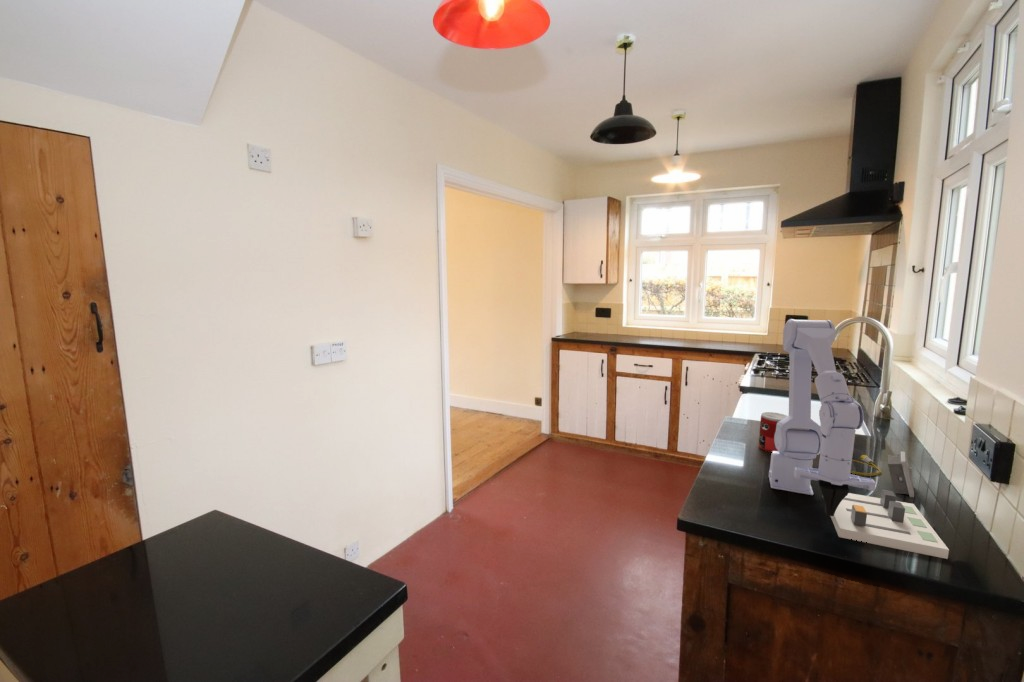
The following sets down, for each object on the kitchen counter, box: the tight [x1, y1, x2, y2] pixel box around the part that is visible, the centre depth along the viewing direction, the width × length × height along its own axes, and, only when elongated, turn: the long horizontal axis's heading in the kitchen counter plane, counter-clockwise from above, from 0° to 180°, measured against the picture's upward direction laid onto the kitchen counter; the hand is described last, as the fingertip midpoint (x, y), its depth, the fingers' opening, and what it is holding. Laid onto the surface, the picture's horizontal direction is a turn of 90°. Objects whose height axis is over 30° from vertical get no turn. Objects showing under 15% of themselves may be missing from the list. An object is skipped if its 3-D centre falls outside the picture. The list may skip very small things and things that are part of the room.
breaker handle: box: [851, 505, 867, 527], centre depth 101 cm, size 2×3×3 cm, turn 155°
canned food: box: [758, 411, 788, 453], centre depth 148 cm, size 8×8×11 cm
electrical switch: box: [887, 451, 915, 498], centre depth 122 cm, size 9×5×9 cm, turn 141°
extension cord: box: [850, 454, 882, 477], centre depth 136 cm, size 12×16×2 cm
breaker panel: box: [822, 489, 950, 560], centre depth 105 cm, size 18×20×5 cm
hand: (829, 513), depth 104 cm, fingers closed
